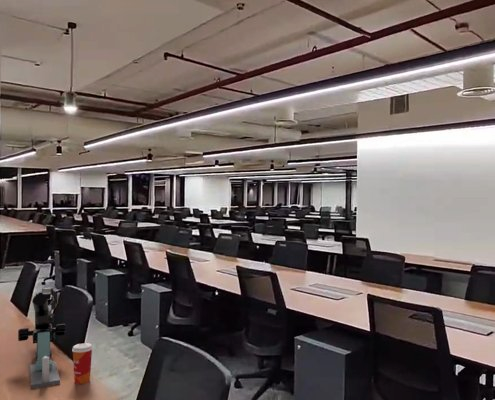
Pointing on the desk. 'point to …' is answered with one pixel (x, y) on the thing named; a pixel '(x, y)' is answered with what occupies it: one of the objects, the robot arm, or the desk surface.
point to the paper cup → (82, 362)
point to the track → (39, 376)
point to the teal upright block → (43, 349)
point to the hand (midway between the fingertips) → (43, 350)
